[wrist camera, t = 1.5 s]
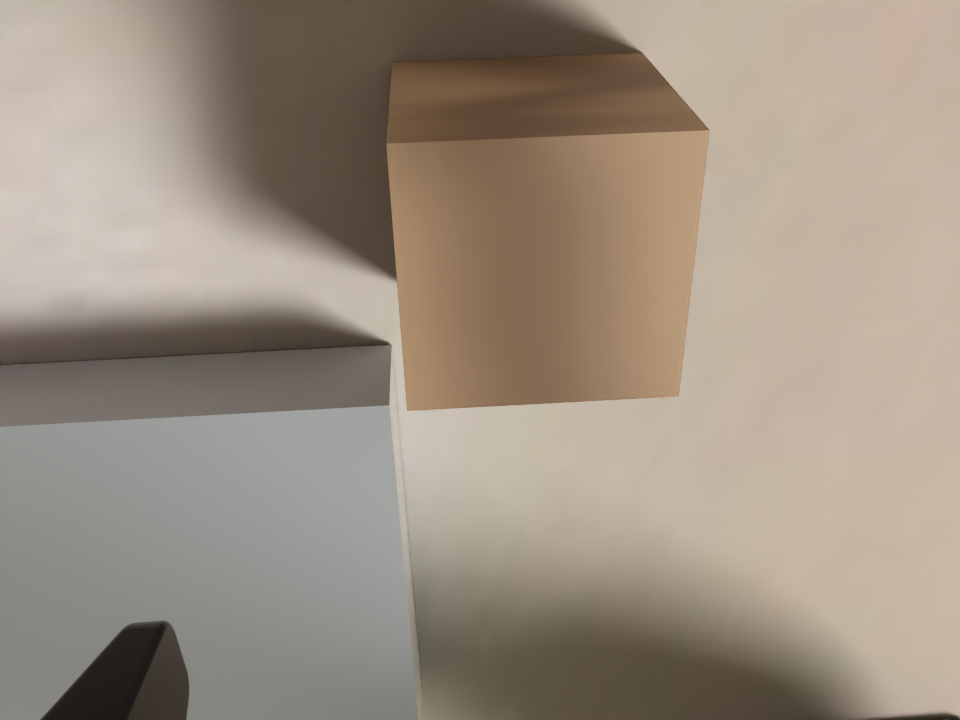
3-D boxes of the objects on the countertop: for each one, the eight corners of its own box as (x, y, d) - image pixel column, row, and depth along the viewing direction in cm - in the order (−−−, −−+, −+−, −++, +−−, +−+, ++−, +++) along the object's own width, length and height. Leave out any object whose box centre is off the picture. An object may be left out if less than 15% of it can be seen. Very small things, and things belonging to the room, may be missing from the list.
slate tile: (391, 344, 21) (389, 405, 19) (420, 679, 28) (421, 752, 26) (-131, 372, 21) (-192, 437, 19) (21, 706, 27) (-12, 783, 25)
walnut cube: (640, 51, 18) (709, 130, 14) (625, 273, 21) (679, 396, 17) (392, 60, 18) (386, 143, 14) (408, 284, 21) (407, 411, 17)
